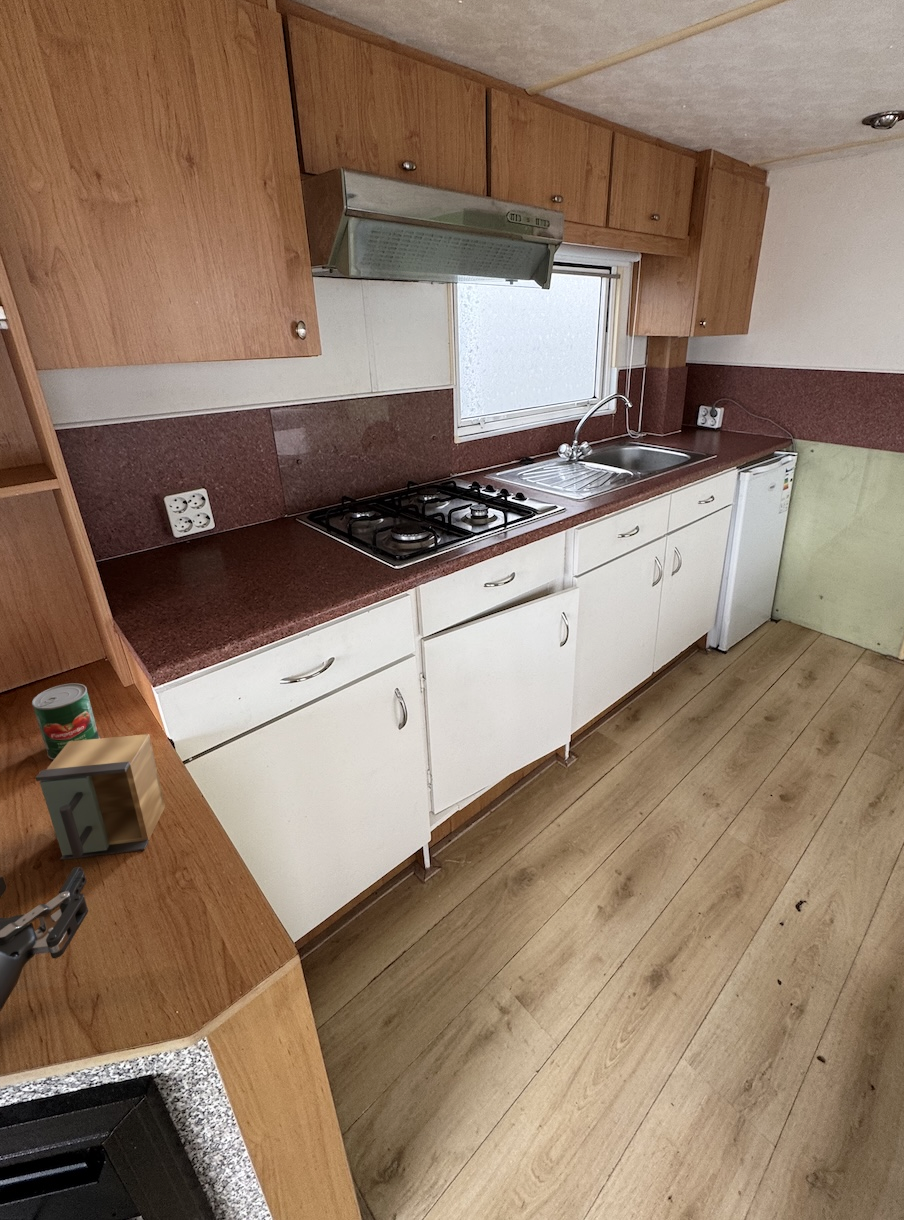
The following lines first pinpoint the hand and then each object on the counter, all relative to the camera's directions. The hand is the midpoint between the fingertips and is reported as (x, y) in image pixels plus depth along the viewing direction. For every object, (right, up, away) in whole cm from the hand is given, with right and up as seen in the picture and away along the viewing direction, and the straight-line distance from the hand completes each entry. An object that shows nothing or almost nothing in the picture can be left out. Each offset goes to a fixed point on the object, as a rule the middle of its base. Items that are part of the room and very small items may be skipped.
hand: (40, 877), depth 71 cm
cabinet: (-2, -2, +18) cm, 18 cm away
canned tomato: (-22, +4, +35) cm, 42 cm away
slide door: (-3, -4, +11) cm, 12 cm away
